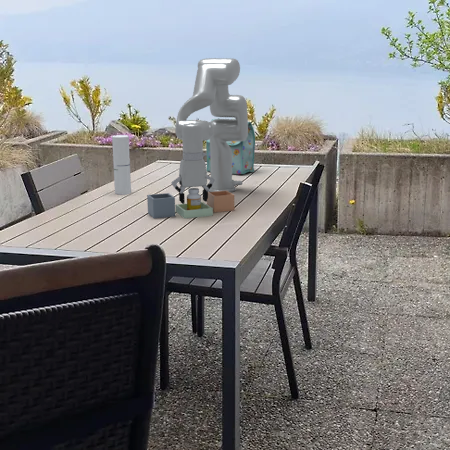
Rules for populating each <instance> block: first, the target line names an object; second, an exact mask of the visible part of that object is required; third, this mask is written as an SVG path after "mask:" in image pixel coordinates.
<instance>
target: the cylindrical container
mask: <svg viewBox="0 0 450 450" xmlns="http://www.w3.org/2000/svg"><path fill="white" fill-rule="evenodd" d="M111 141H112V142H111V143H112V144H111V145H112V162H113V179H114V181H113V182H114V194H116V195H129V194H131V193H132V182H131V181H132V179H131V178H132V177H131V176H132V175H131V158H130V153H131V152H130V136H129V135H127V134H125V135H124V134H119V135H117V134H116V135H112V137H111Z"/></svg>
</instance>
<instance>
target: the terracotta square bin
mask: <svg viewBox="0 0 450 450" xmlns="http://www.w3.org/2000/svg"><path fill="white" fill-rule="evenodd" d="M206 204H207V205H208V206H210V207H211V208H213V213H222V212H223V213H225V212H233V211H235V193H232V192H228V191H216V192H210V191H208V199H207V202H206Z"/></svg>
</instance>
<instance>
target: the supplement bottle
mask: <svg viewBox="0 0 450 450" xmlns="http://www.w3.org/2000/svg"><path fill="white" fill-rule="evenodd" d="M187 190H188V194H186V204H187V210H196V209H201V202H202V201H201V200H202V196H201V194H200V188H198V187H189V188H188V189H187Z"/></svg>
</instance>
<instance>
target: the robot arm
mask: <svg viewBox="0 0 450 450" xmlns="http://www.w3.org/2000/svg"><path fill="white" fill-rule="evenodd" d="M240 74H241V65H240V62H239V60H238V59H236V58H234V57H233V58H231V57H230V58H227V57H226V58H224V57H223V58H222V57H221V58H216V57H214V58H212V57H211V58H210V57H209V58H207V57H206V58H202V59H200V60H199V61H198V63H197V71H196V75H195V81H194V87H193V93H192V96H191V97H190V98H189V99H188V100H187V101H186V102H184V103H183V104H182V106H180V109H179V110H178V112H177V116H176V117H177V118H176V122H175V128H174V130H175V136H176V138H178V140H181V141H182V159H181V160H180V162H179V171H178V177H177V178H175V179H174V180H172V182H171V185H172V186H173V189H175V190H176V191H177V192H178V198H179V199H178V201H179V202H180V204H186V201H185V200H186V199H185V198H186V197H185V193H184V192H185V190H186V189H187V188H198V187H201V188H202V189H203V190H202V201H203V202H204V203H205V202H206V203H207V199H208V192H216V191H228V192H230V193H232V192H235V191H236V190H237V189H236V186H242V185H243V180H234V179H233V174H232V150H231V148H230V146H229V145H228V144H227V142H226V141H245V140H246V139H247V137H248V122H249V121H248V120H249V117H248V104H247V103H248V102H247V100H246V98H245V97H244V96H243V95H239V94H230V93H229V92H230V91H229V86H230V85H232V84H234V82H235V81H236V80H238V78H239V76H240ZM208 107H209V111H210V114H211V116H212V117H216V118H214V119H215V120H212V119H211V120H212V121H208V120H195V119H194V120H193V119H191V120H190V119H188V118H189V116H190V115H192V114H194V113H196V112H198V111H200V110H203V109H205V108H208ZM218 118H219V119H218ZM229 118H231V119H229ZM233 118H234V119H233ZM209 139H210V156H211V172H210V175H209V174H208V173H207V172H208V171H207V163H206V161H205V159H204V157H207V152H204V147H203V145H204V144H203V141H205V142H206V140H209ZM208 181H209V183H208ZM178 184H179V185H180V187H179V186H178Z"/></svg>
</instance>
